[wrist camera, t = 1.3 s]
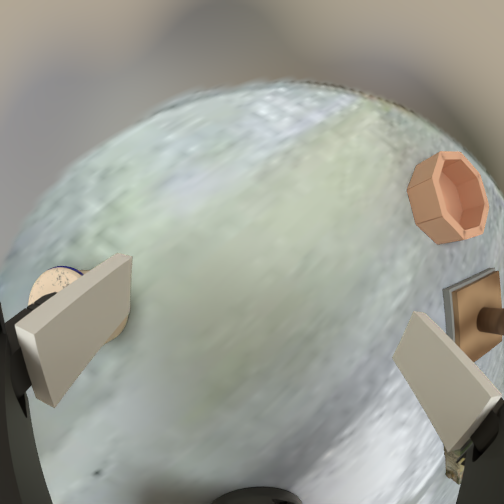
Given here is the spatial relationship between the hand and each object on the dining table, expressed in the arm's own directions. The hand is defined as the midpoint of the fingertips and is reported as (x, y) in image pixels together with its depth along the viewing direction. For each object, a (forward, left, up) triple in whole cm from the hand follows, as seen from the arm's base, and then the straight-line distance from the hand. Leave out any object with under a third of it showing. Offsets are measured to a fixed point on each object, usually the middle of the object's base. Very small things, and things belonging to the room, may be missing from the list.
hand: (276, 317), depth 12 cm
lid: (-14, -36, -19) cm, 43 cm away
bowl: (+6, -32, -21) cm, 39 cm away
